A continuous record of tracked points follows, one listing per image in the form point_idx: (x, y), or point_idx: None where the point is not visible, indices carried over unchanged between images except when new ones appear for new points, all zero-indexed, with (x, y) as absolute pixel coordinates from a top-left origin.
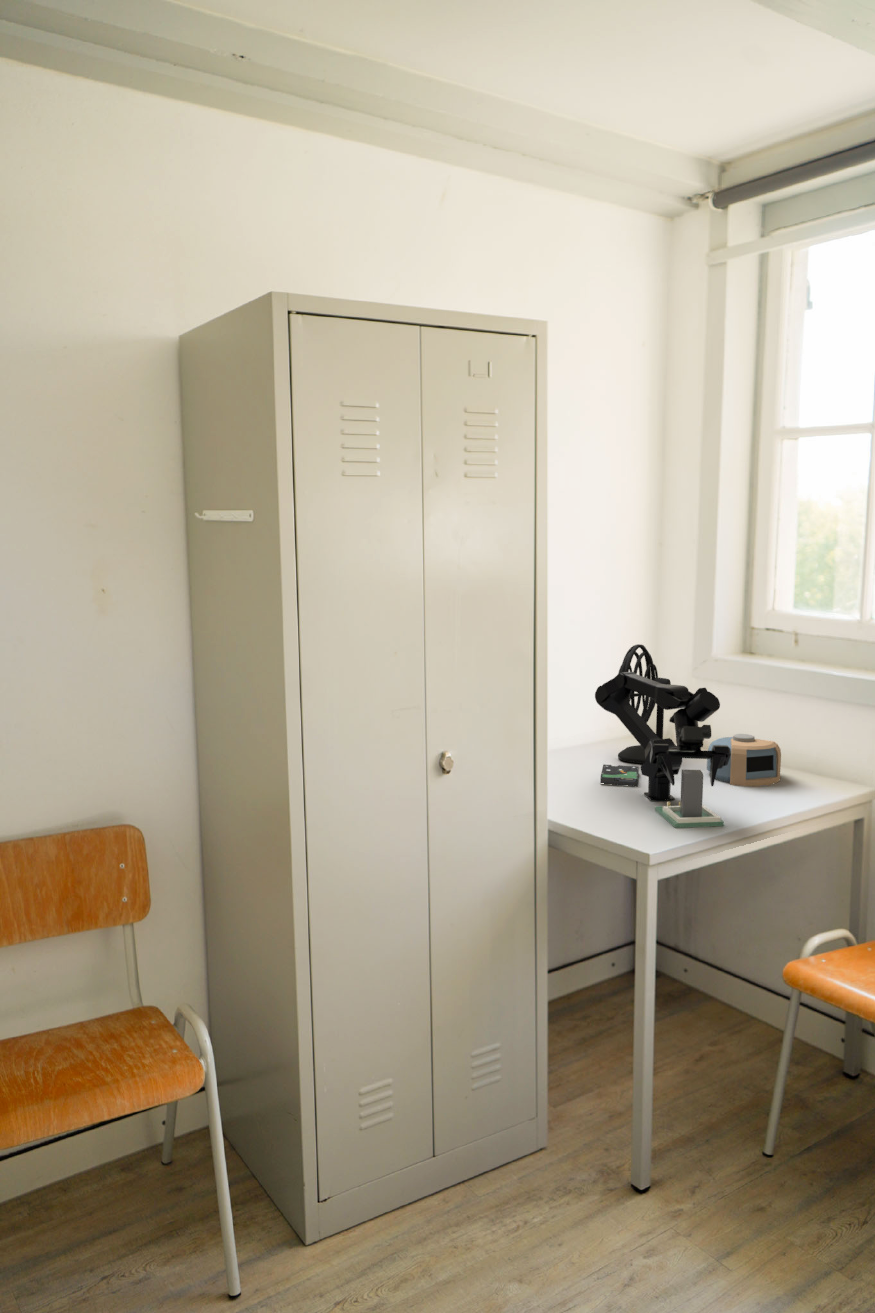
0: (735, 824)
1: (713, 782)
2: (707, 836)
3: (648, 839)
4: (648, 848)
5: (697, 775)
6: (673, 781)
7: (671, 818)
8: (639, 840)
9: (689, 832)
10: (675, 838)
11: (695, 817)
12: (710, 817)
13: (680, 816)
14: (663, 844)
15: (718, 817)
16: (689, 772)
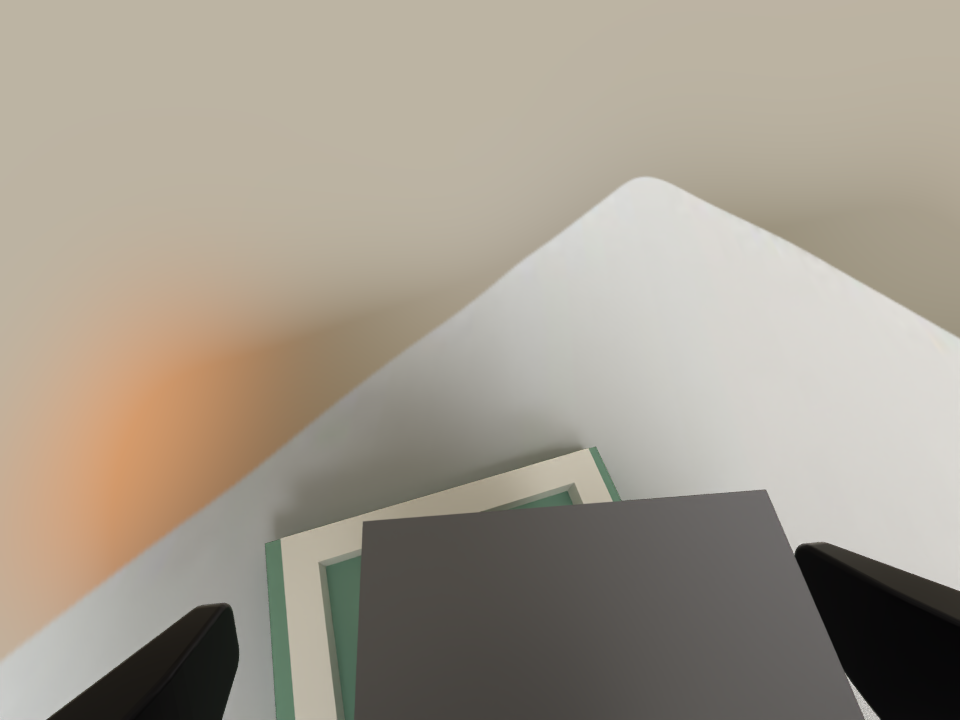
0: (166, 612)
1: (186, 618)
2: (422, 344)
3: (682, 279)
4: (660, 201)
5: (491, 520)
6: (838, 553)
7: None
8: (713, 266)
9: (509, 390)
10: (573, 302)
11: (472, 504)
12: (359, 527)
13: None
14: (614, 238)
15: (296, 539)
16: (683, 626)
